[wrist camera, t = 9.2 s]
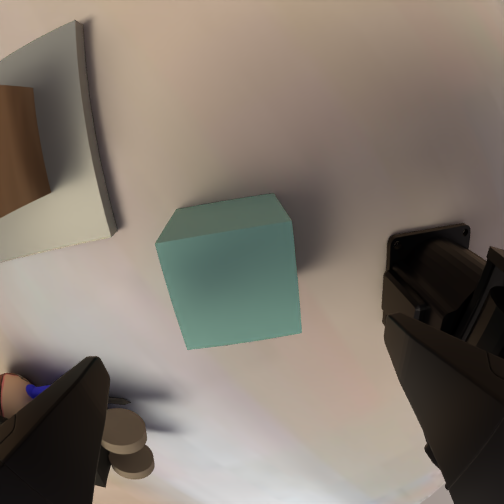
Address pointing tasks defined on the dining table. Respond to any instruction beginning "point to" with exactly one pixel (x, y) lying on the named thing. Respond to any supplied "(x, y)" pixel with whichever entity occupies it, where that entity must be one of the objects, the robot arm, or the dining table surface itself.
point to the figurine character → (114, 436)
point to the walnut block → (20, 150)
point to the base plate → (58, 149)
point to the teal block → (231, 271)
